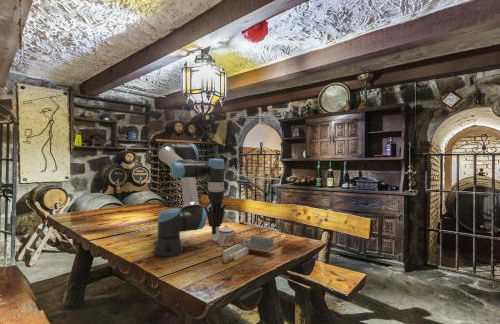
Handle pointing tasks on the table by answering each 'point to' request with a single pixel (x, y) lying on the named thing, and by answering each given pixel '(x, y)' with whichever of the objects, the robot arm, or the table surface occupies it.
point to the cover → (259, 243)
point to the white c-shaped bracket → (241, 251)
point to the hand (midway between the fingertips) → (215, 240)
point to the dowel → (227, 258)
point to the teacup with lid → (226, 236)
